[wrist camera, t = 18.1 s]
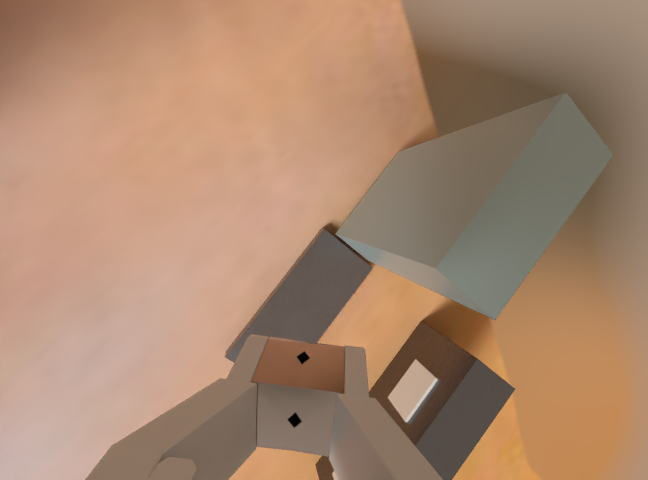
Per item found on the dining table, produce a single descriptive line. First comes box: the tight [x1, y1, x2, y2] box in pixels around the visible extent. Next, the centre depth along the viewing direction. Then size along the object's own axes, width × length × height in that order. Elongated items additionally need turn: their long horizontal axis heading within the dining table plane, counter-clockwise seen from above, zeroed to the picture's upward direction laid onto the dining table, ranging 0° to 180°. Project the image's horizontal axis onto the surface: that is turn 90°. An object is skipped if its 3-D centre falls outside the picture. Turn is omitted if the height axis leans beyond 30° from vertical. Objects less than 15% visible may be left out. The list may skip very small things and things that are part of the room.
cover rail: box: [225, 228, 372, 363], centre depth 28 cm, size 6×14×1 cm, turn 140°
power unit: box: [316, 321, 515, 480], centre depth 28 cm, size 5×18×8 cm, turn 140°
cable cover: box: [335, 92, 613, 320], centre depth 20 cm, size 4×10×15 cm, turn 140°
